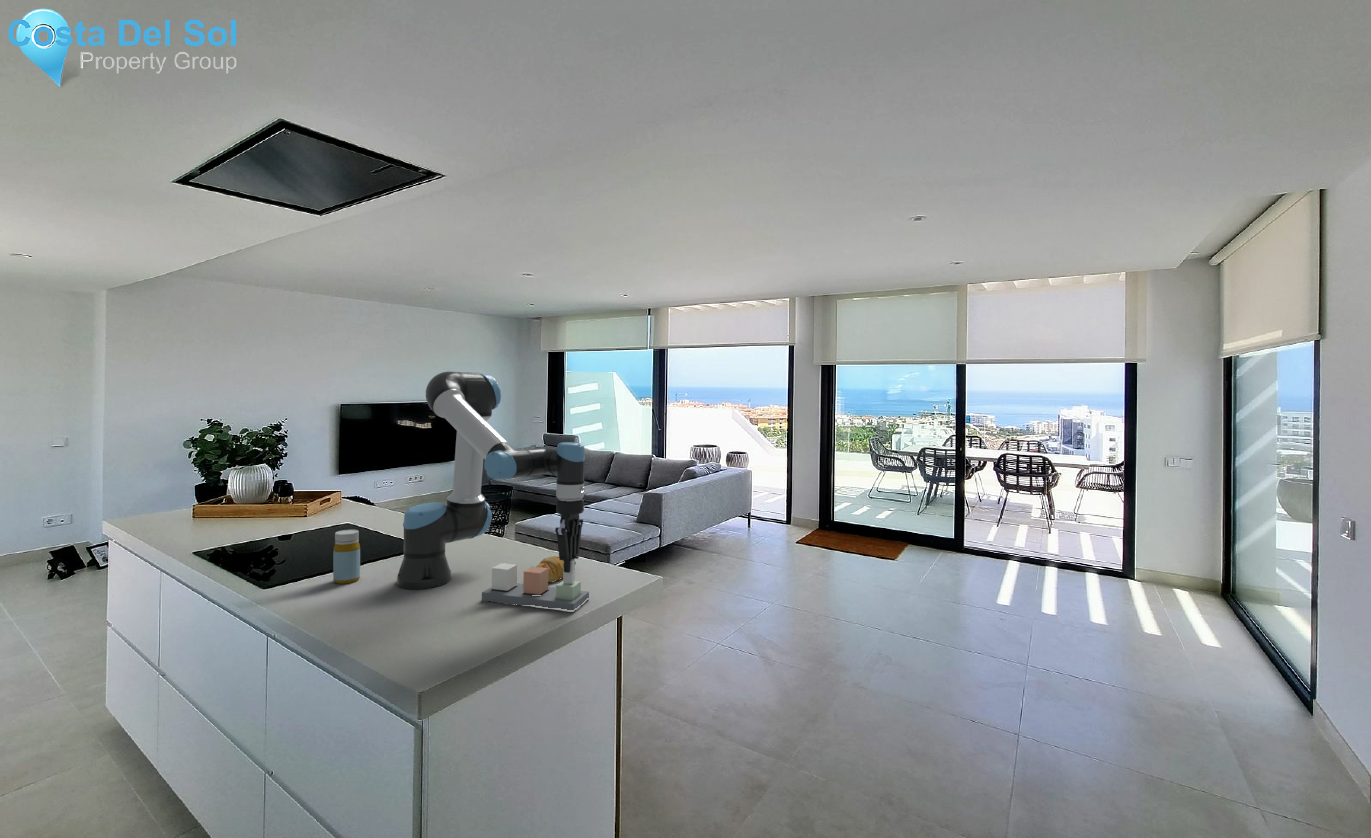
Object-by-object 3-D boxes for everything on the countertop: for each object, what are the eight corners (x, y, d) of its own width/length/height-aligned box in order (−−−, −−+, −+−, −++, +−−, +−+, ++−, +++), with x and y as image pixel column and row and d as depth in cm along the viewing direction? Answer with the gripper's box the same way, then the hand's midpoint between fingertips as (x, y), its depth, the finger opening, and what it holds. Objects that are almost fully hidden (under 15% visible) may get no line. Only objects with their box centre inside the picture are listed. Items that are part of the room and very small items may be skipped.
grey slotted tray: (481, 601, 160) (481, 592, 160) (501, 589, 170) (501, 581, 170) (573, 613, 154) (573, 603, 153) (588, 600, 163) (589, 591, 163)
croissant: (531, 599, 172) (540, 579, 170) (511, 578, 176) (519, 558, 174) (579, 580, 190) (588, 561, 188) (560, 561, 194) (568, 542, 192)
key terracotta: (523, 592, 160) (523, 571, 160) (532, 587, 165) (532, 566, 164) (539, 594, 159) (539, 573, 158) (548, 588, 163) (548, 568, 163)
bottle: (365, 577, 177) (365, 529, 177) (349, 585, 170) (349, 535, 170) (344, 576, 178) (344, 528, 177) (327, 583, 171) (327, 534, 170)
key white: (491, 588, 162) (491, 567, 162) (501, 583, 167) (501, 563, 167) (507, 590, 161) (507, 569, 161) (516, 585, 166) (517, 564, 166)
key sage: (555, 606, 158) (556, 585, 157) (564, 600, 162) (564, 579, 162) (572, 608, 156) (572, 587, 156) (580, 602, 161) (580, 581, 161)
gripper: (572, 503, 151) (570, 591, 152) (592, 495, 163) (590, 577, 164) (546, 501, 153) (545, 588, 154) (568, 493, 165) (566, 574, 166)
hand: (568, 582), depth 159 cm, fingers closed
